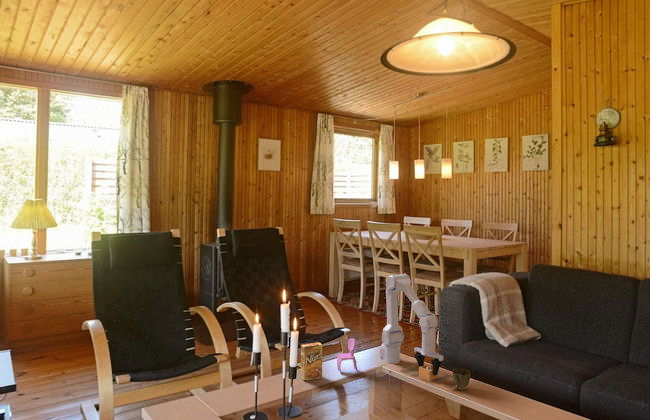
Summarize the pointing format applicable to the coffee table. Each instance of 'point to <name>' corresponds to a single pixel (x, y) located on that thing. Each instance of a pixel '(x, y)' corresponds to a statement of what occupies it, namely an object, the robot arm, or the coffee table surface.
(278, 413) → the coffee table surface
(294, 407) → the coffee table surface
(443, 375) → the board
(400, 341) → the robot arm
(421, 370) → the collar
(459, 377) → the cup
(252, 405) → the coffee table surface
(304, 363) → the candy box
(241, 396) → the coffee table surface
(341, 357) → the toy chair
